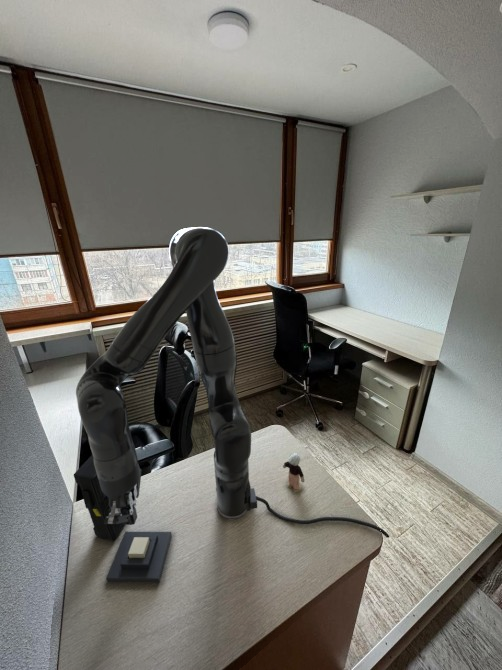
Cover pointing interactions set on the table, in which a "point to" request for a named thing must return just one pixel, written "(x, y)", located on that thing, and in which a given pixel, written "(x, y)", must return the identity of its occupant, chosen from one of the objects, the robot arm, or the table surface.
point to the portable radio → (96, 501)
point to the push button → (140, 559)
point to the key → (139, 547)
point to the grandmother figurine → (294, 472)
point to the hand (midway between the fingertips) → (131, 520)
